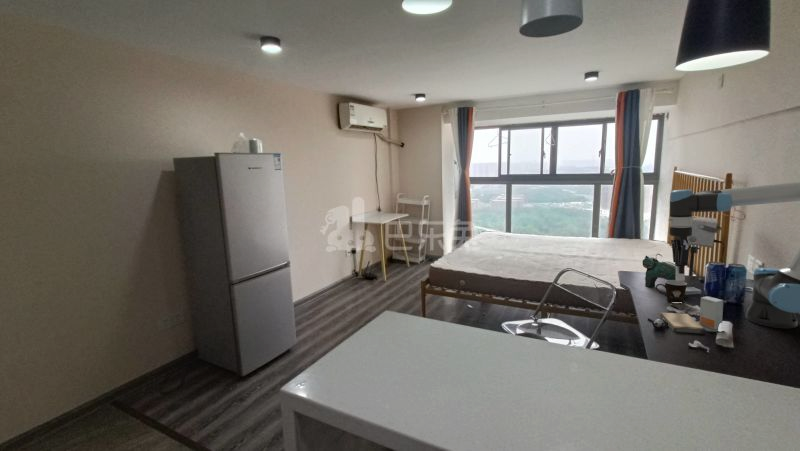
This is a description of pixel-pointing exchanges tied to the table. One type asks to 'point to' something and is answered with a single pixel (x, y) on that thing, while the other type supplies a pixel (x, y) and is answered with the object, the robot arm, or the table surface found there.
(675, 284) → the coffee mug
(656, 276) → the ceramic cat
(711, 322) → the skincare box
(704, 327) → the rubber mat
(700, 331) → the grey picture frame
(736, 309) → the table surface
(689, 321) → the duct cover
